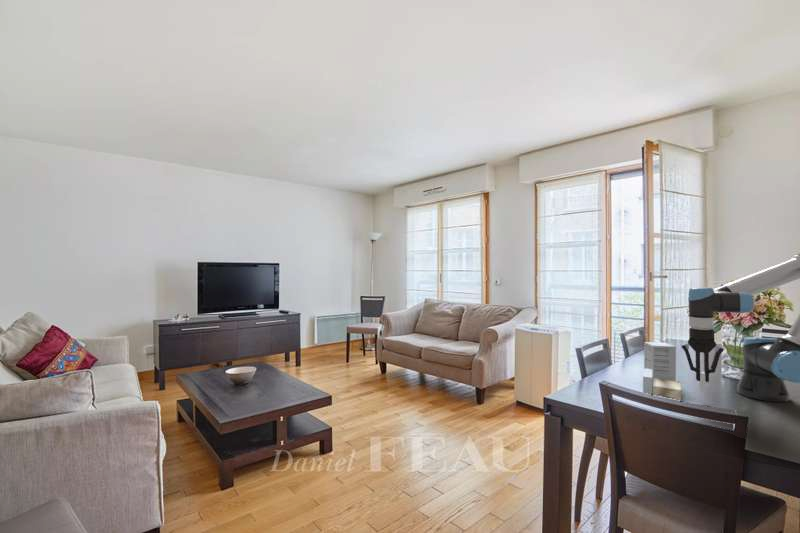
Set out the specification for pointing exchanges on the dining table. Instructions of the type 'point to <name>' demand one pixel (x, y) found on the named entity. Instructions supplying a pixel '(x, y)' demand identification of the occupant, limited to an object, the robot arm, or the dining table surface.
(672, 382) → the maple block
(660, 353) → the supplement box
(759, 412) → the dining table surface
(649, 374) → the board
